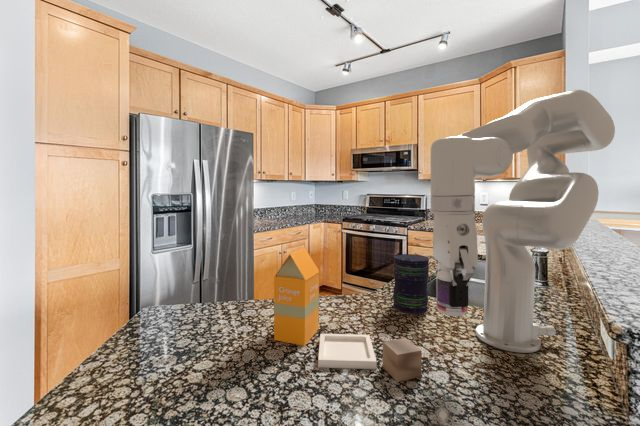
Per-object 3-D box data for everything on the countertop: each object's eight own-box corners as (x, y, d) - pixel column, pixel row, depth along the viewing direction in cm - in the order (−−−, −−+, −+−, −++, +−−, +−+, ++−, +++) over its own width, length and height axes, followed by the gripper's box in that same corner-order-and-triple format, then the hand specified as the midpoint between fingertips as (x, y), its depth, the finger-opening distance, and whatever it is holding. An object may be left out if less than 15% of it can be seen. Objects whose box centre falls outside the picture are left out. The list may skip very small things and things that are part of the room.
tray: (369, 341, 68) (369, 334, 68) (376, 369, 57) (376, 361, 57) (320, 340, 69) (320, 333, 68) (318, 367, 58) (318, 359, 57)
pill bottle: (470, 317, 55) (471, 265, 54) (439, 316, 56) (439, 264, 55) (463, 306, 60) (463, 258, 59) (434, 305, 61) (434, 257, 60)
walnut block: (405, 362, 60) (405, 338, 59) (420, 377, 55) (421, 350, 55) (382, 367, 58) (382, 341, 58) (396, 382, 53) (397, 354, 53)
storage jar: (400, 299, 96) (401, 252, 95) (432, 306, 90) (433, 256, 89) (387, 309, 88) (388, 257, 87) (421, 317, 82) (423, 262, 81)
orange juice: (273, 340, 68) (273, 252, 67) (290, 324, 77) (290, 246, 76) (305, 346, 66) (305, 254, 65) (319, 329, 74) (320, 248, 73)
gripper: (497, 207, 48) (496, 319, 49) (454, 202, 65) (453, 285, 66) (449, 209, 48) (449, 319, 50) (418, 203, 65) (419, 286, 67)
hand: (451, 299), depth 58 cm, fingers closed on pill bottle, 5 cm apart
